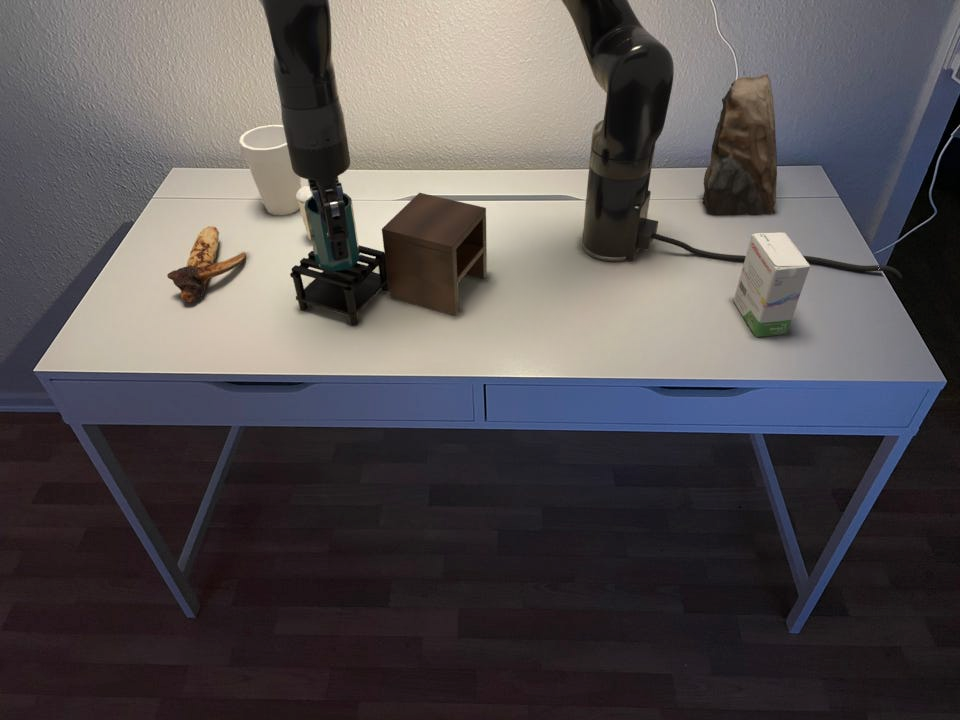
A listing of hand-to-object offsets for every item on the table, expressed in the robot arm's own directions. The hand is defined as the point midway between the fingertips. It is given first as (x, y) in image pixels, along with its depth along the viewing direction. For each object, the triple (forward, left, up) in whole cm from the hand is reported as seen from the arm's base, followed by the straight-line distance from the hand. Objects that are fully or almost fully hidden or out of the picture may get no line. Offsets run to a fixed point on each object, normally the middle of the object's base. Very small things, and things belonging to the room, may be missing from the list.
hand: (335, 245), depth 102 cm
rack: (0, 0, -10) cm, 10 cm away
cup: (0, 0, -2) cm, 2 cm away
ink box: (-57, -21, -10) cm, 61 cm away
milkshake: (+13, -13, -10) cm, 20 cm away
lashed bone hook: (+23, +2, -10) cm, 25 cm away
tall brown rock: (-48, -52, -10) cm, 71 cm away
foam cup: (+25, -19, -10) cm, 33 cm away
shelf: (-12, -9, -10) cm, 17 cm away
